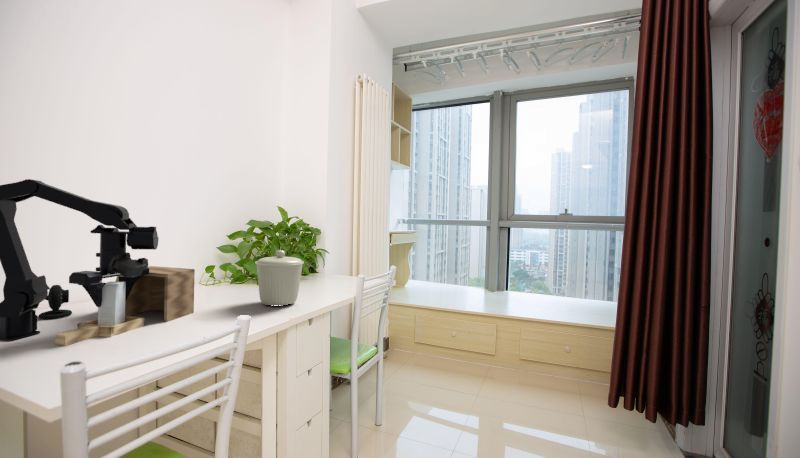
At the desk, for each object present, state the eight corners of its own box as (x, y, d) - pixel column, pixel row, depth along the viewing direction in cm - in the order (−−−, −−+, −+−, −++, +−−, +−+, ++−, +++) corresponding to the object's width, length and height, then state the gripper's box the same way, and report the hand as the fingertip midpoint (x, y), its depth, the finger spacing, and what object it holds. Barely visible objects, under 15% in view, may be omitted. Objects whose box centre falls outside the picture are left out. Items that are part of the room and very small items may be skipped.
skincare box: (108, 321, 101) (109, 281, 101) (125, 321, 102) (126, 281, 102) (96, 328, 95) (97, 285, 95) (114, 327, 96) (116, 285, 96)
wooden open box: (166, 321, 107) (167, 274, 107) (120, 317, 110) (121, 270, 110) (193, 312, 118) (194, 269, 118) (150, 308, 121) (151, 266, 121)
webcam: (71, 317, 108) (71, 285, 108) (36, 321, 103) (37, 288, 103) (72, 311, 114) (72, 281, 113) (40, 315, 109) (40, 284, 109)
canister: (279, 296, 147) (281, 247, 146) (312, 302, 138) (314, 250, 138) (243, 305, 130) (244, 249, 130) (278, 312, 122) (279, 253, 122)
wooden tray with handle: (78, 347, 85) (78, 337, 85) (42, 342, 87) (42, 332, 87) (144, 326, 103) (144, 317, 103) (113, 322, 105) (113, 314, 105)
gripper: (103, 254, 88) (102, 314, 88) (165, 248, 106) (164, 298, 107) (67, 251, 90) (66, 310, 90) (134, 246, 108) (133, 295, 108)
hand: (112, 303), depth 99 cm, fingers open, 7 cm apart
